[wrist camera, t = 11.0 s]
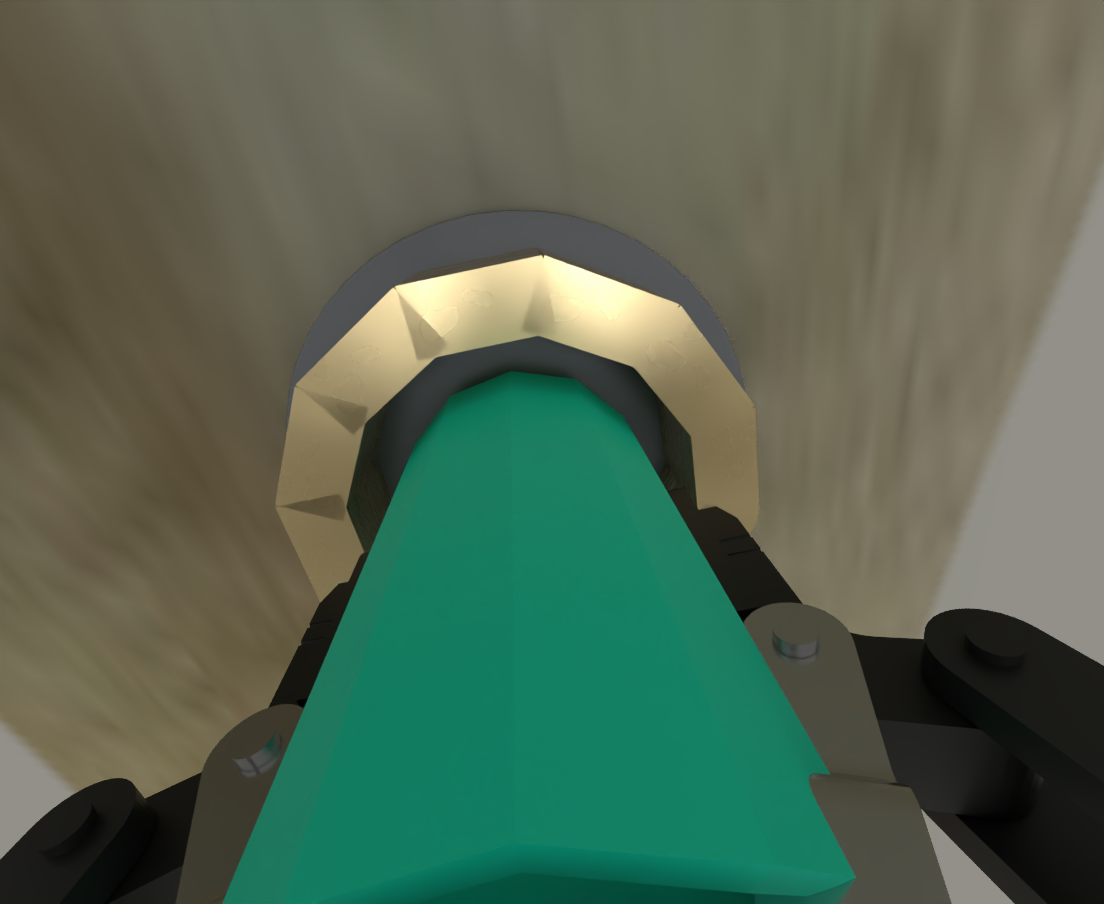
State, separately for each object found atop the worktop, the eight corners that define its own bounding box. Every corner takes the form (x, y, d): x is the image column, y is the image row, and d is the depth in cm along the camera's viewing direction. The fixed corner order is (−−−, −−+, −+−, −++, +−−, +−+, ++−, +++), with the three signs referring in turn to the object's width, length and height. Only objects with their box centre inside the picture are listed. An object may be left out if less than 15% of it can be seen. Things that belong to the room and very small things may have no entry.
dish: (382, 647, 19) (376, 669, 18) (220, 268, 14) (199, 272, 13) (742, 573, 19) (754, 591, 18) (720, 162, 13) (736, 158, 13)
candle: (508, 613, 15) (506, 1584, 4) (358, 466, 13) (-367, 1657, 2) (684, 498, 14) (1257, 1418, 3) (551, 318, 12) (950, 1258, 1)
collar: (396, 641, 18) (375, 719, 15) (257, 306, 13) (191, 329, 10) (723, 574, 17) (764, 640, 15) (697, 212, 13) (748, 211, 10)
